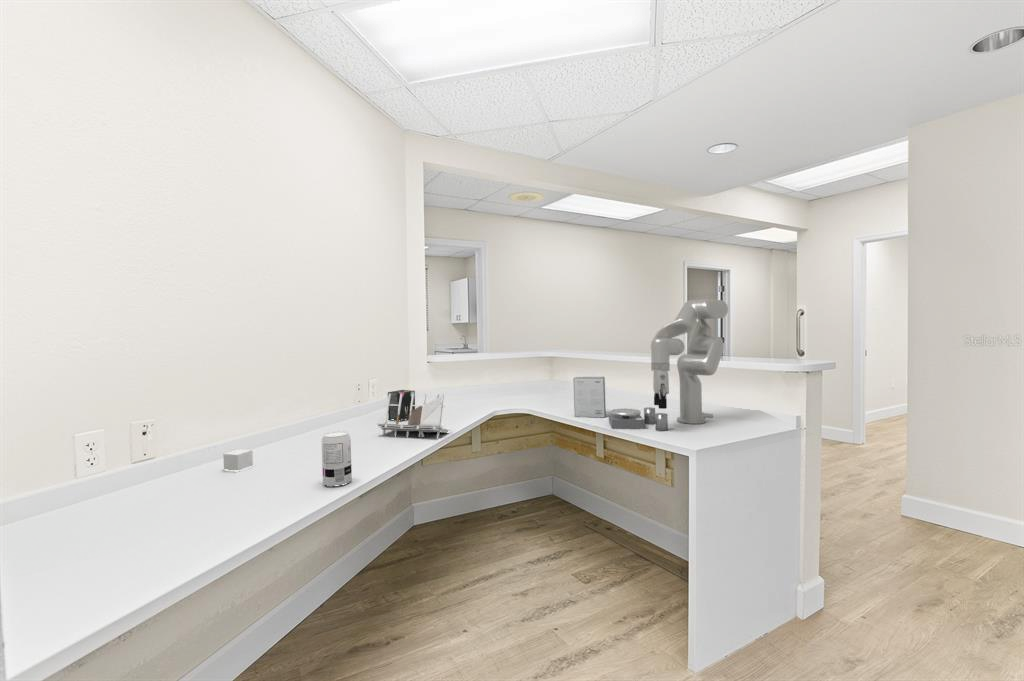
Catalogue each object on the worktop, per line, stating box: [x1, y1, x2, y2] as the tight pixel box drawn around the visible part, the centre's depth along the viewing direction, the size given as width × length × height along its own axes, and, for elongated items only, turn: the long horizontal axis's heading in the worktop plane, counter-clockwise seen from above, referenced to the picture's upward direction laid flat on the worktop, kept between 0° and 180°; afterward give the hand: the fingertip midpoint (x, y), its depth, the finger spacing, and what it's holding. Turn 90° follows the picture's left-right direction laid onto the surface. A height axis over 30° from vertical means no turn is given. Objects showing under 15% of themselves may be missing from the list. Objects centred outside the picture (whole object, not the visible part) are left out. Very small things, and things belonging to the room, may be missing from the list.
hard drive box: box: [573, 376, 607, 418], centre depth 231 cm, size 16×8×20 cm, turn 74°
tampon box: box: [387, 389, 416, 421], centre depth 235 cm, size 11×9×15 cm
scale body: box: [608, 413, 645, 430], centre depth 207 cm, size 14×14×4 cm
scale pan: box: [610, 408, 641, 417], centre depth 207 cm, size 13×13×3 cm
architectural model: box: [377, 393, 450, 438], centre depth 198 cm, size 20×29×21 cm
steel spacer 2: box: [655, 412, 669, 432], centre depth 196 cm, size 5×5×7 cm
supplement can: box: [321, 430, 353, 486], centre depth 137 cm, size 8×8×15 cm
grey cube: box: [223, 448, 254, 470], centre depth 154 cm, size 6×6×6 cm
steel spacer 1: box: [643, 407, 656, 425], centre depth 210 cm, size 5×5×7 cm
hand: (660, 406), depth 195 cm, fingers open, 9 cm apart
